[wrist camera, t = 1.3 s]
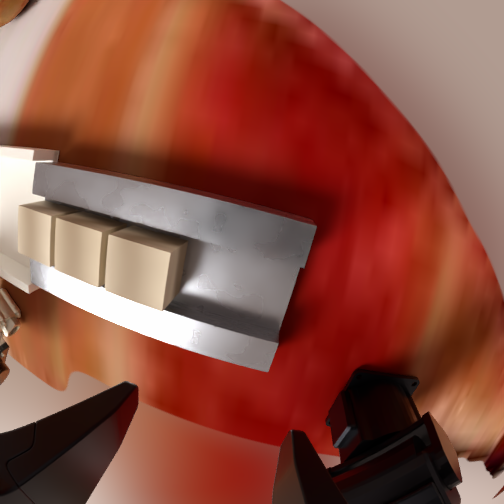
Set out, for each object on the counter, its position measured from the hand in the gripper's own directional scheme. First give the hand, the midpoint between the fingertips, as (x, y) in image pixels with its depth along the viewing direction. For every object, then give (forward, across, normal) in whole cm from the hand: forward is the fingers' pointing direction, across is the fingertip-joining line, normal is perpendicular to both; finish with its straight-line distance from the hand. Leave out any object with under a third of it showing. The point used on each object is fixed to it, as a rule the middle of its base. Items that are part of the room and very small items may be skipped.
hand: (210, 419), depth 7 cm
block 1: (+11, +16, 0) cm, 19 cm away
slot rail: (+12, +8, 0) cm, 14 cm away
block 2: (+11, +11, 0) cm, 16 cm away
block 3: (+11, +6, 0) cm, 13 cm away
